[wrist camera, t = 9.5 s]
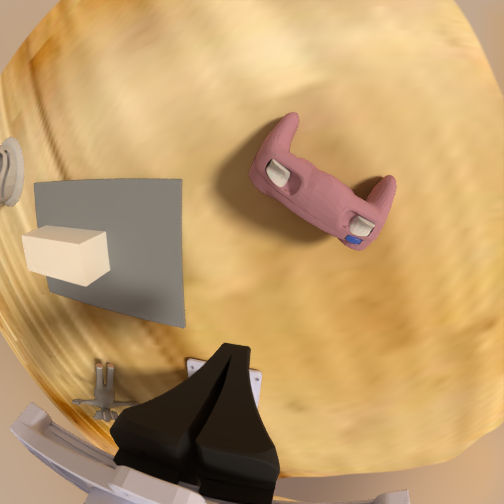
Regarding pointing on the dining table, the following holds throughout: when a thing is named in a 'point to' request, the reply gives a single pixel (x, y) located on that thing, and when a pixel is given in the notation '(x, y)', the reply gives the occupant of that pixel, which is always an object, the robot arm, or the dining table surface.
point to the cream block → (67, 253)
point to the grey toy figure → (104, 395)
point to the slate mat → (124, 242)
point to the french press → (11, 171)
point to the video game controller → (319, 190)
